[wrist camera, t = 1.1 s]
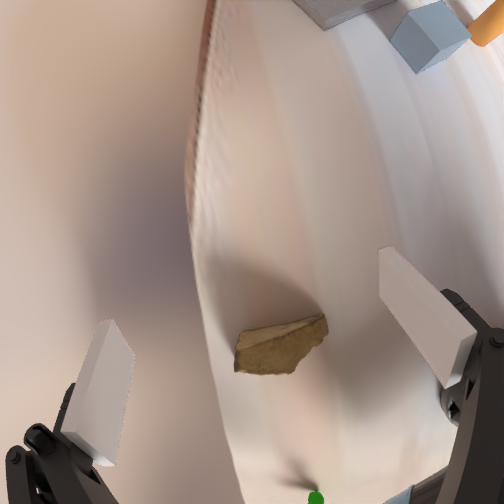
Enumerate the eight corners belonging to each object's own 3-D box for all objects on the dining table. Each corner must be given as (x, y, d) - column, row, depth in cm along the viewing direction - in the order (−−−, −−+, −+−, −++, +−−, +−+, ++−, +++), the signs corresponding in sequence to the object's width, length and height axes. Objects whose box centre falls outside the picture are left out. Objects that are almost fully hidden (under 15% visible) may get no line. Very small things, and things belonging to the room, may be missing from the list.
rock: (343, 296, 30) (243, 284, 30) (350, 376, 24) (234, 368, 24) (312, 343, 38) (234, 335, 38) (313, 407, 32) (227, 400, 32)
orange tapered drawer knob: (490, 36, 24) (540, -3, 11) (486, 54, 25) (542, 16, 11) (466, 18, 24) (512, -28, 11) (462, 36, 25) (513, -11, 12)
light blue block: (421, 27, 26) (441, 0, 19) (446, 58, 26) (472, 35, 19) (389, 41, 27) (407, 12, 20) (415, 74, 27) (440, 50, 20)
